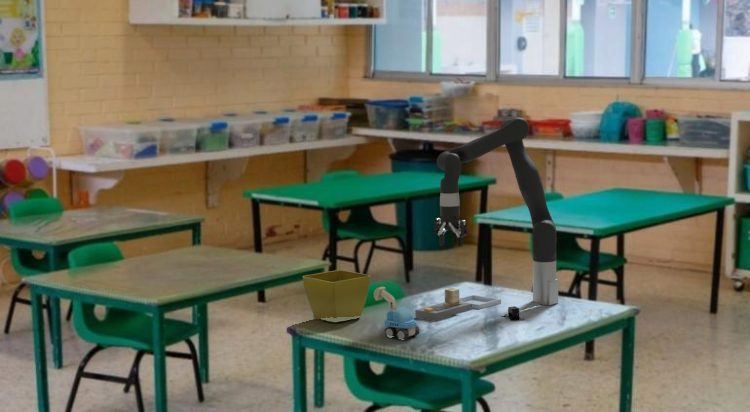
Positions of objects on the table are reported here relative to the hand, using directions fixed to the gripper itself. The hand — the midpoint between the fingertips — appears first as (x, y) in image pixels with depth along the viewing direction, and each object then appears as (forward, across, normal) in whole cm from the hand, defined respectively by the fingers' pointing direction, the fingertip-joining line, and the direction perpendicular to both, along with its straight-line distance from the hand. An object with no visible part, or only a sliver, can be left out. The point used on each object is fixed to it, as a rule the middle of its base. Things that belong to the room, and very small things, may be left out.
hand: (450, 245), depth 486 cm
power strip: (+25, -2, +8) cm, 27 cm away
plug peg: (+25, -2, +3) cm, 26 cm away
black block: (+26, -27, -3) cm, 38 cm away
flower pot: (+25, +26, +38) cm, 53 cm away
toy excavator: (+26, -10, +46) cm, 54 cm away
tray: (+26, -3, -12) cm, 28 cm away
